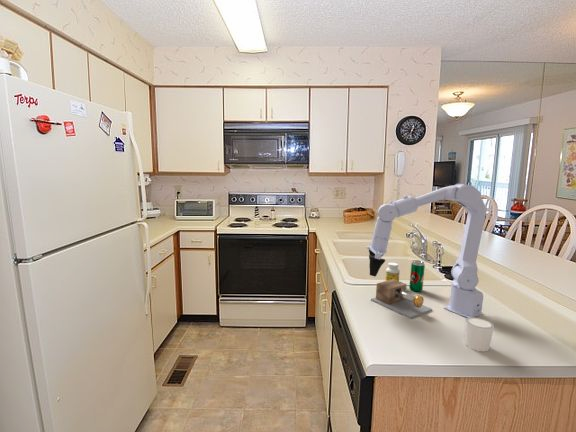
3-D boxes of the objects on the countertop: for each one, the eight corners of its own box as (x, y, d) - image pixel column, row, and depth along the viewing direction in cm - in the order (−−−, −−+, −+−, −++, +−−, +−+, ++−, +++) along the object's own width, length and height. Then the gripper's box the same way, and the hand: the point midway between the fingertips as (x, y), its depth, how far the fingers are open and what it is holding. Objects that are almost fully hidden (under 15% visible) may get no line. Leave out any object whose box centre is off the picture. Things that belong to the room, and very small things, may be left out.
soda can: (423, 293, 127) (426, 263, 125) (410, 291, 128) (412, 262, 126) (421, 288, 132) (423, 260, 130) (408, 287, 133) (410, 259, 131)
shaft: (423, 306, 109) (424, 295, 109) (415, 308, 107) (416, 297, 106) (398, 296, 117) (399, 285, 117) (391, 298, 115) (392, 287, 115)
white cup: (457, 339, 92) (460, 316, 91) (480, 339, 93) (482, 316, 92) (473, 353, 85) (476, 328, 84) (497, 352, 86) (500, 328, 85)
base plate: (432, 310, 111) (432, 309, 111) (410, 318, 104) (410, 316, 104) (392, 294, 125) (392, 292, 125) (370, 300, 118) (371, 298, 118)
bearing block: (405, 299, 118) (406, 284, 117) (388, 304, 113) (389, 288, 112) (392, 294, 123) (393, 279, 122) (375, 298, 118) (376, 283, 117)
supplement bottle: (399, 285, 134) (401, 263, 133) (396, 289, 130) (398, 266, 129) (387, 282, 137) (388, 261, 136) (383, 286, 133) (384, 264, 131)
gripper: (369, 230, 122) (361, 264, 125) (369, 238, 109) (361, 275, 111) (388, 234, 121) (380, 268, 124) (391, 243, 107) (381, 281, 110)
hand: (372, 272), depth 117 cm, fingers open, 7 cm apart
